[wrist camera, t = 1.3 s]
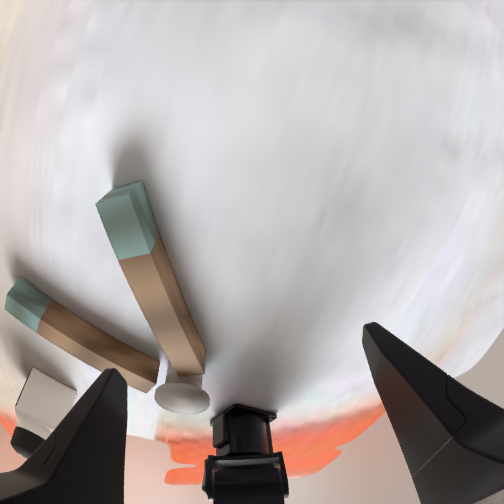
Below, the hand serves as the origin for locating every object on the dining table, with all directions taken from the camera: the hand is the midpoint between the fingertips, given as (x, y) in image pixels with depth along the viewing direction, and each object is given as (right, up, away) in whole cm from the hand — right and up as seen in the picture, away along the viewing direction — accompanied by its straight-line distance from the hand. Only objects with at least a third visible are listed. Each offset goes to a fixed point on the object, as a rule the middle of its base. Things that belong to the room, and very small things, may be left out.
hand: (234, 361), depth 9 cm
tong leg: (-6, +1, +13) cm, 14 cm away
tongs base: (-13, -4, +15) cm, 20 cm away
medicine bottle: (-27, -15, +21) cm, 38 cm away
